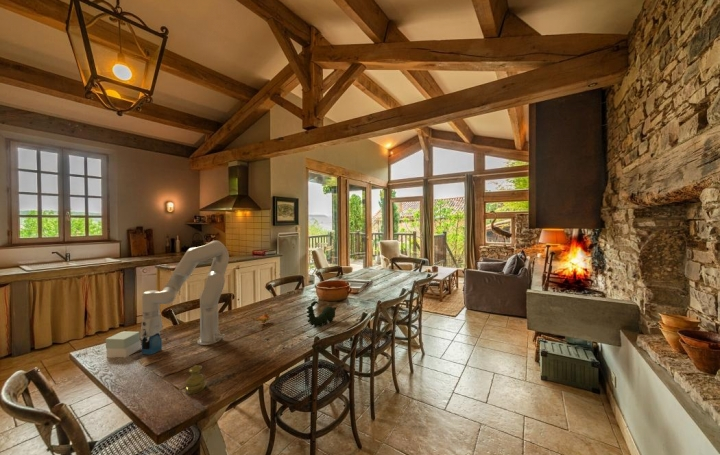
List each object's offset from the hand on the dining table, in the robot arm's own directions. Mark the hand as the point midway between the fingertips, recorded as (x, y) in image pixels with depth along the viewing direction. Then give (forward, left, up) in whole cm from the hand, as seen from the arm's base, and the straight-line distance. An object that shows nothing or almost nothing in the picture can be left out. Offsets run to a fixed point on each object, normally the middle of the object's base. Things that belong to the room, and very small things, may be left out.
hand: (151, 345), depth 152 cm
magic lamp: (-46, -41, -4) cm, 62 cm away
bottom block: (+14, +2, -4) cm, 14 cm away
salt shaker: (-44, +33, -4) cm, 55 cm away
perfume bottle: (0, 0, -4) cm, 4 cm away
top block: (+14, +2, +1) cm, 14 cm away
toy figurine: (-88, -42, -4) cm, 98 cm away
